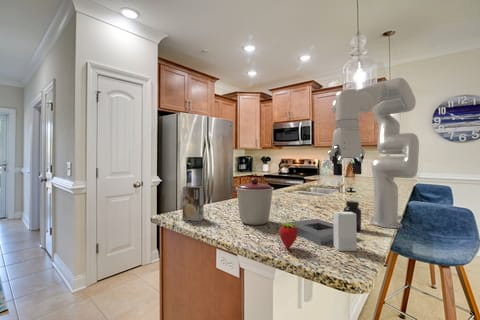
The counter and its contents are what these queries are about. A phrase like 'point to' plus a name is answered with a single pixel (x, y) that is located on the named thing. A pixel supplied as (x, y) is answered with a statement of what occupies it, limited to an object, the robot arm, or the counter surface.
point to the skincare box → (345, 231)
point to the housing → (315, 231)
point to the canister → (254, 202)
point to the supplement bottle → (353, 207)
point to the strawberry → (288, 234)
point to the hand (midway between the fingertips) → (347, 174)
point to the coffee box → (193, 203)
